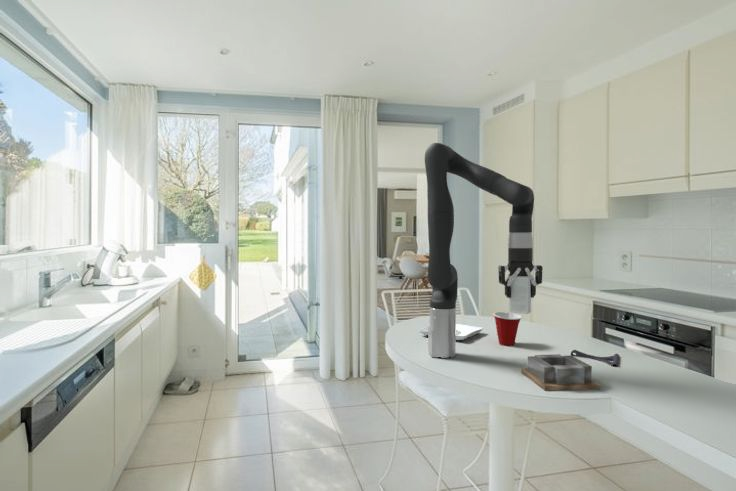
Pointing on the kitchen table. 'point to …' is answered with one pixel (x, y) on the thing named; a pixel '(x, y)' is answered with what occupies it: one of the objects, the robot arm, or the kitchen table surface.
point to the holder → (559, 372)
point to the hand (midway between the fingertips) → (520, 297)
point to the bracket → (603, 359)
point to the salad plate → (464, 329)
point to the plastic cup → (506, 327)
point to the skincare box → (520, 295)
